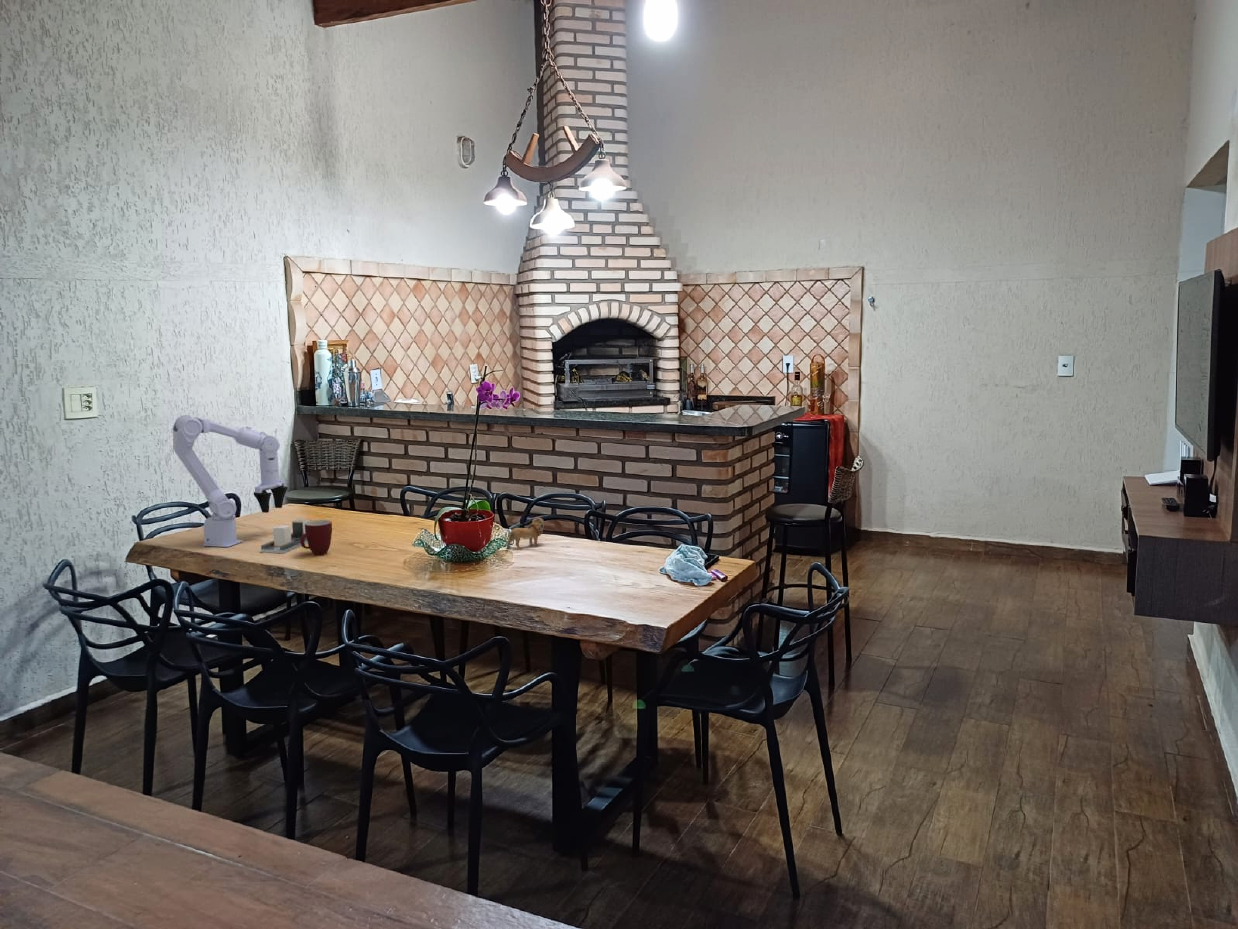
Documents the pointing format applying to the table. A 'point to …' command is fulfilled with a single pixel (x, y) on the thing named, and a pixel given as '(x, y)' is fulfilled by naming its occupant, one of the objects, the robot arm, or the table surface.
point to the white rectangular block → (282, 535)
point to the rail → (296, 536)
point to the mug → (317, 536)
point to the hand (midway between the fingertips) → (272, 510)
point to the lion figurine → (527, 533)
